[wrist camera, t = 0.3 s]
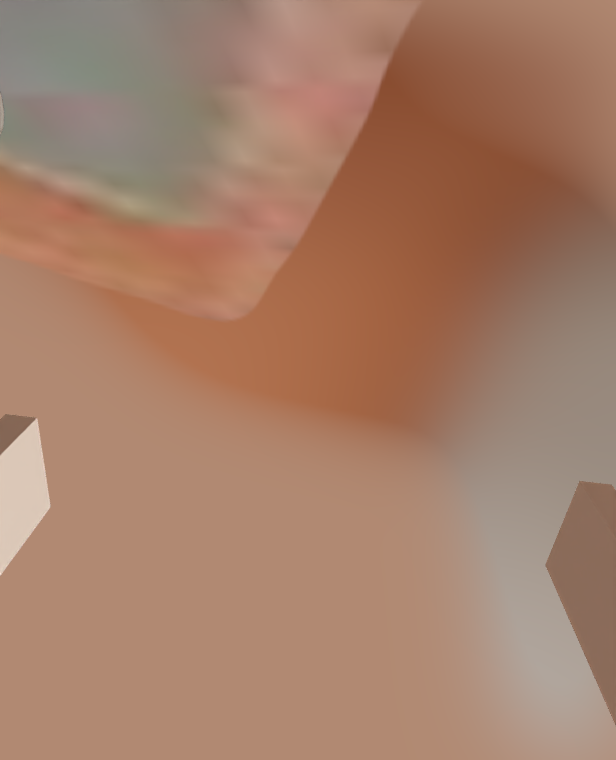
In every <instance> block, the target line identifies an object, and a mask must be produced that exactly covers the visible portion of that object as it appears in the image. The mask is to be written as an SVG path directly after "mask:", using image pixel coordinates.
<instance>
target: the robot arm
mask: <svg viewBox="0 0 616 760" xmlns="http://www.w3.org/2000/svg"><path fill="white" fill-rule="evenodd" d="M49 508H50V500H49V493H48V487H47V481H46V474H45V467H44V461H43V454H42V449H41V441H40V434H39V428H38V421H37V418H32V417H24V416H16V415H7V414H6V415H4V416H3V417H2V418H1V419H0V575H1V574H2V572H3V571H4V570H5V568H6V567H7V565H8V564H9V563H10V562H11V560H12V559H13V557H14V556H15V555H16V553H17V552H18V551H19V549H20V548H21V547H22V545H23V544H24V542H25V541H26V540H27V538H28V537H29V536H30V534H31V533H32V531H33V530H34V529H35V527H36V526H37V525H38V523H39V522H40V521H41V519H42V518H43V517H44V515H45V514H46V512H47V511H48V509H49ZM546 567H547V570H548V572H549V574H550V577H551V579H552V581H553V583H554V586H555V588H556V590H557V593H558V595H559V597H560V599H561V602H562V604H563V606H564V609H565V611H566V613H567V615H568V618H569V620H570V622H571V625H572V627H573V629H574V631H575V633H576V636H577V638H578V641H579V643H580V645H581V647H582V650H583V652H584V654H585V656H586V659H587V661H588V663H589V665H590V668H591V670H592V672H593V675H594V677H595V679H596V681H597V684H598V686H599V688H600V691H601V693H602V695H603V698H604V700H605V702H606V704H607V707H608V709H609V711H610V713H611V716H612V718H613V720H614V722H615V725H616V490H615V489H614V487H613V486H612V485H610V484H601V483H593V482H584V481H579V484H578V486H577V489H576V491H575V494H574V496H573V499H572V501H571V504H570V506H569V509H568V511H567V513H566V516H565V518H564V521H563V523H562V526H561V528H560V530H559V533H558V535H557V538H556V540H555V543H554V545H553V548H552V550H551V553H550V555H549V558H548V560H547V562H546Z"/></svg>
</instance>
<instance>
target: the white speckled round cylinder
mask: <svg viewBox="0 0 616 760" xmlns="http://www.w3.org/2000/svg"><path fill="white" fill-rule="evenodd" d="M3 124H4V107H3V100H2V95H1V93H0V135H1V133H2V130H3Z"/></svg>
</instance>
